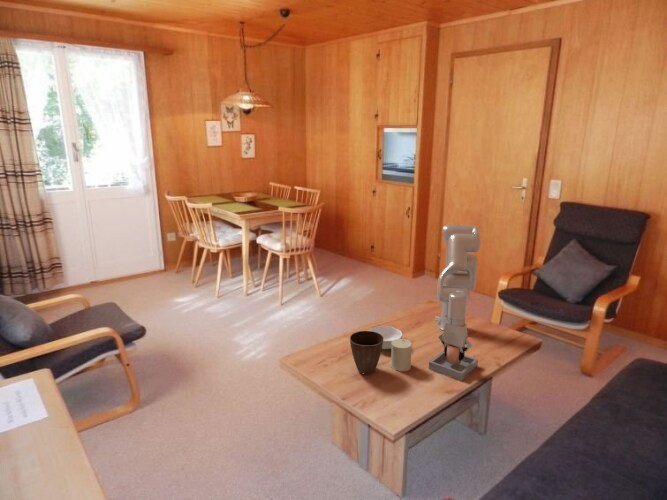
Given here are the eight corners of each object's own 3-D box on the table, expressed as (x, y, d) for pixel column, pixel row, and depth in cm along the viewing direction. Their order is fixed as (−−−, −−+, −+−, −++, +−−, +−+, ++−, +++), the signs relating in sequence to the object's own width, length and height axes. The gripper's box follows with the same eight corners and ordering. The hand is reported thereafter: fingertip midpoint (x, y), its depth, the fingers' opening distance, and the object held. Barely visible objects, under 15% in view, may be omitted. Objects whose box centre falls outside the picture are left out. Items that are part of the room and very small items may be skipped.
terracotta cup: (443, 361, 204) (444, 345, 202) (450, 356, 208) (451, 340, 206) (457, 366, 200) (458, 349, 198) (463, 360, 204) (464, 344, 202)
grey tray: (428, 368, 204) (429, 361, 203) (445, 355, 216) (445, 348, 215) (461, 381, 194) (462, 373, 193) (477, 366, 206) (478, 359, 205)
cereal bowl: (363, 350, 222) (363, 337, 220) (373, 336, 237) (373, 323, 235) (397, 356, 216) (397, 342, 214) (405, 341, 231) (405, 328, 229)
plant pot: (344, 365, 208) (344, 333, 203) (373, 359, 213) (374, 328, 209) (358, 382, 194) (358, 348, 190) (388, 375, 199) (389, 342, 195)
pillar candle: (412, 363, 209) (413, 339, 206) (409, 372, 201) (410, 348, 198) (392, 359, 212) (393, 336, 209) (388, 369, 204) (389, 345, 201)
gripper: (434, 317, 202) (432, 354, 206) (471, 328, 191) (468, 366, 195) (442, 312, 207) (440, 348, 212) (478, 322, 196) (475, 359, 201)
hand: (453, 356), depth 204 cm, fingers closed on terracotta cup, 6 cm apart
